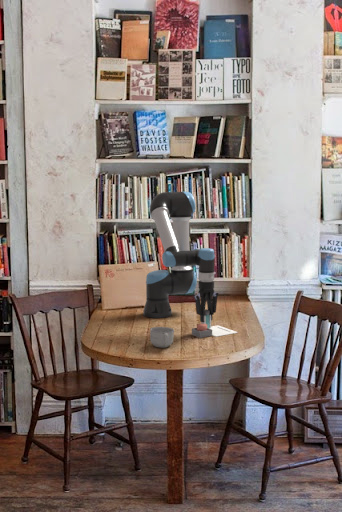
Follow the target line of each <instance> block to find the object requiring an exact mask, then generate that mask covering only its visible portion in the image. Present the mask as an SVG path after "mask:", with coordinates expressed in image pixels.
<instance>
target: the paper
mask: <svg viewBox="0 0 342 512" xmlns="http://www.w3.org/2000/svg"><path fill="white" fill-rule="evenodd" d="M209 329H212V336H213V337H215V338H217V337H222V336H228V335H233V334H238V333H239V332H238V331H236V330H232V329H231V328H230V329H229V328H227V327H224V326H221V325H220V324H219V325H211V328H209Z"/></svg>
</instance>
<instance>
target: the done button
mask: <svg viewBox="0 0 342 512" xmlns="http://www.w3.org/2000/svg"><path fill="white" fill-rule="evenodd" d="M196 328H197V330H199V331H205V330H207V324H201V323H198V324H196Z"/></svg>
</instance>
